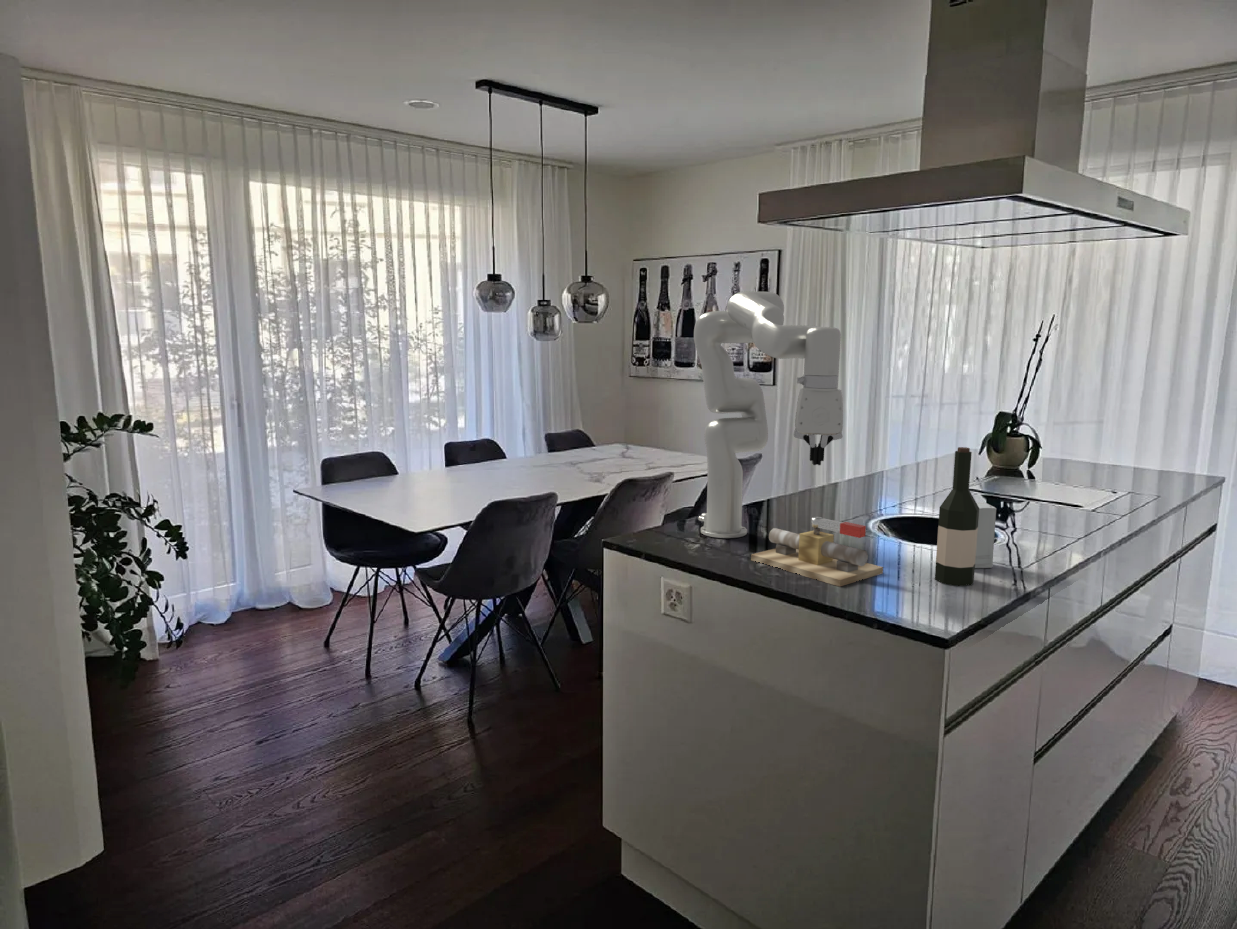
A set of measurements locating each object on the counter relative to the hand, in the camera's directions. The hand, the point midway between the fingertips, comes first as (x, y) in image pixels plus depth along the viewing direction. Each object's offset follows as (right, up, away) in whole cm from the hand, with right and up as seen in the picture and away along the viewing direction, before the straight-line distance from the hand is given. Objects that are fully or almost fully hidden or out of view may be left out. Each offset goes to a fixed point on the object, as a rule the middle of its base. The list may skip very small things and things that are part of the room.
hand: (816, 464), depth 188 cm
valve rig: (+2, -24, +8) cm, 26 cm away
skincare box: (+39, -24, +9) cm, 47 cm away
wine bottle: (+30, -26, -2) cm, 40 cm away
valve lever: (+5, -16, +2) cm, 17 cm away
